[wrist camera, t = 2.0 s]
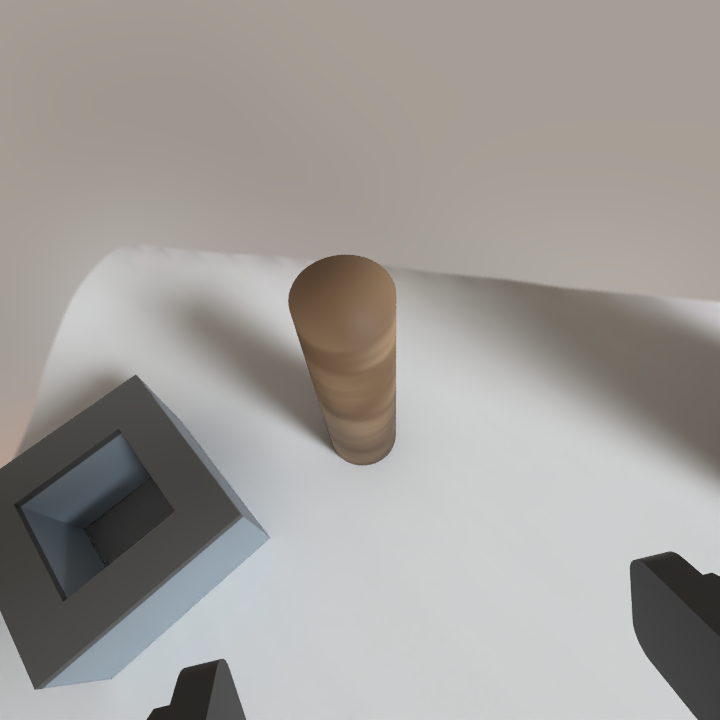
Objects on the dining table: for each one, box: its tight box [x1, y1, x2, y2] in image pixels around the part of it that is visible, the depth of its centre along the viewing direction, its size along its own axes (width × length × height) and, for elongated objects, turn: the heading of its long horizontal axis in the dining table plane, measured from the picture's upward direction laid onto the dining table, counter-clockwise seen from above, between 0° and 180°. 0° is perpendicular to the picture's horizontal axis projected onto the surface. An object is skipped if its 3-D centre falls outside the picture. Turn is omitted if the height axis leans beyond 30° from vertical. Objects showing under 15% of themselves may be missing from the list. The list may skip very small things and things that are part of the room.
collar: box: [0, 375, 270, 690], centre depth 25 cm, size 10×10×6 cm
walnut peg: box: [288, 255, 396, 465], centre depth 24 cm, size 4×4×14 cm
